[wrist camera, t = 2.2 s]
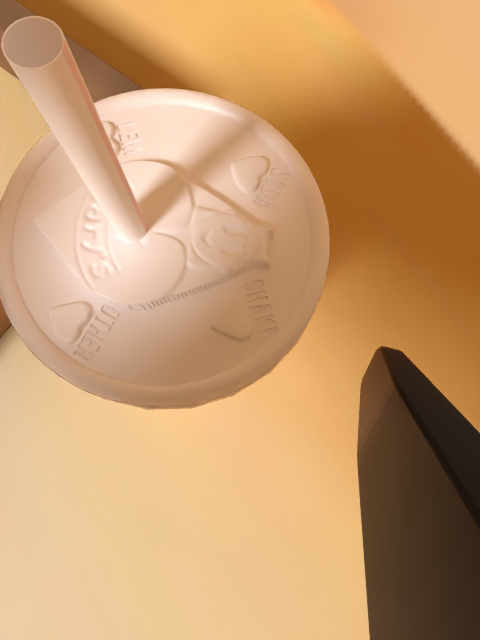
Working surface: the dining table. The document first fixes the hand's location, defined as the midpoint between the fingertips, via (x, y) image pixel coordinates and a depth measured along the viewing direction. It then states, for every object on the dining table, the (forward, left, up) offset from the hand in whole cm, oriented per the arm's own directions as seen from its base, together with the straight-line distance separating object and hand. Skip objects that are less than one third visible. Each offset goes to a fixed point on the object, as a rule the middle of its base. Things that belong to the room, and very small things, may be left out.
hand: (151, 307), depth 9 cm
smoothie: (+1, 0, -9) cm, 9 cm away
